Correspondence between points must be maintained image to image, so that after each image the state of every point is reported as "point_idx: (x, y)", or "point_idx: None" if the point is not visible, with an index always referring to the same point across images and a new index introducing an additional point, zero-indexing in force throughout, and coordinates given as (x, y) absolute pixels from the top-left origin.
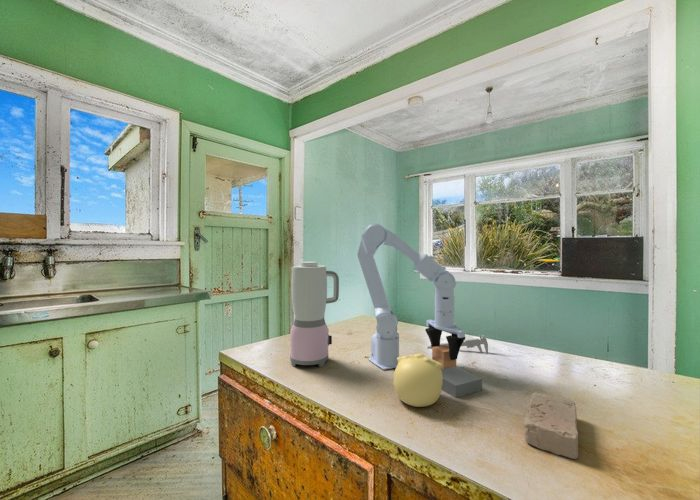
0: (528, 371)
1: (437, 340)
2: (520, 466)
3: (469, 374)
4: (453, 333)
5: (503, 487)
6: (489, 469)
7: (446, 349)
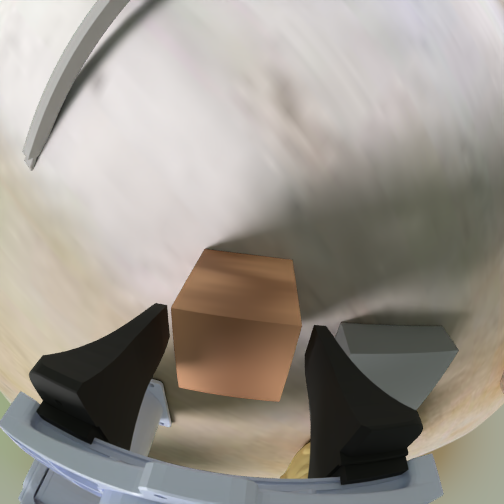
0: (471, 32)
1: (138, 359)
2: (486, 408)
3: (420, 363)
4: (339, 491)
5: (470, 430)
6: (461, 431)
7: (256, 368)
